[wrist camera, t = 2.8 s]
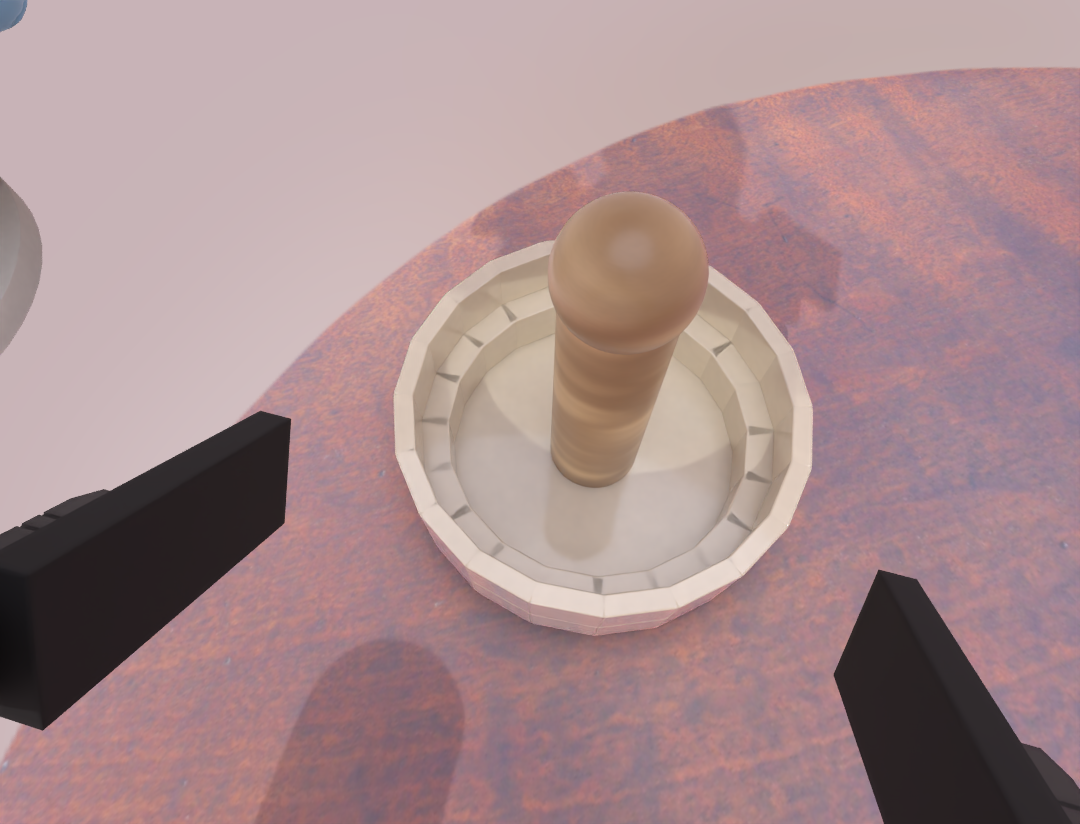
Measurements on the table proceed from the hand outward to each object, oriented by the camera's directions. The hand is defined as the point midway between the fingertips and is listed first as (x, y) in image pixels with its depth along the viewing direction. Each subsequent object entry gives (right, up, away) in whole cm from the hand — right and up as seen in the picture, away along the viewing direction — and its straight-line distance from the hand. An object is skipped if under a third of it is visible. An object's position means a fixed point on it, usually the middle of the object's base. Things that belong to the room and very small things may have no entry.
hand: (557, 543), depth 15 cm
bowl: (+2, +1, +17) cm, 17 cm away
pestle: (+2, +1, +16) cm, 16 cm away
